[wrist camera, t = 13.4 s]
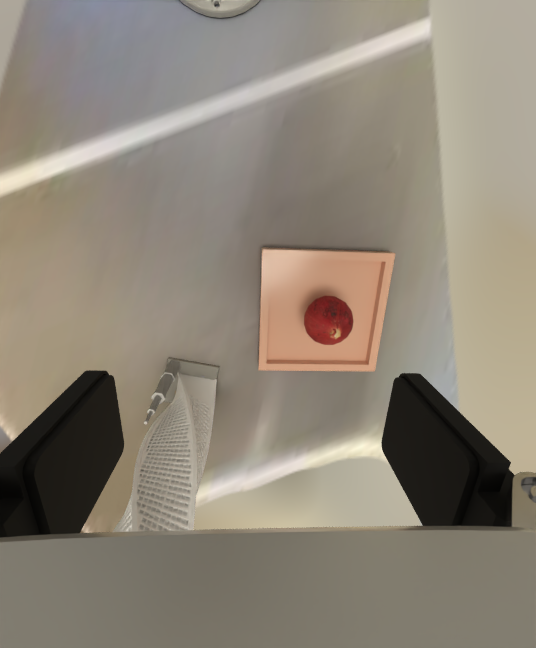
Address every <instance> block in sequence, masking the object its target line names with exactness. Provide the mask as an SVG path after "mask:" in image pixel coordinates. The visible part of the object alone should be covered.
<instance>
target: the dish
mask: <svg viewBox="0 0 536 648" xmlns="http://www.w3.org/2000/svg"><path fill="white" fill-rule="evenodd" d="M394 258H395V253H392V252H389V251H360V250H329V249H298V248H267V247H262V261H261V295H260V329H259V370H288V371H375V366H376V361H377V355H378V349H379V344H380V338H381V332H382V327H383V321H384V315H385V310H386V304H387V298H388V292H389V287H390V281H391V275H392V270H393V264H394ZM323 296H335V297H337V298H339V299H341V300H342V301H344V302H346V304H347V305H348V306H349V308H350V309H351V311H352V315H353V328H352V331H351V332H350V334H349V335H348V337H347V338H346V339H344V340H343V341H342V342H340V343H337V344H334V345H323V344H320V343H317V342H315V341H314V340H313V339H312V338H311V337H310V336H309V335H308V334H307V332H306V329H305V326H304V315H305V312H306V310H307V308H308V306H309V305H310V304H311V303H312V302H313V301H314V300H315V299H317V298H320V297H323Z"/></svg>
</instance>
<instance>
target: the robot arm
mask: <svg viewBox="0 0 536 648" xmlns="http://www.w3.org/2000/svg"><path fill="white" fill-rule="evenodd" d="M180 1H181V2H182V3H183V4H185V5H186V6H188V7H189V8H191V9H192V10H194V11H196V12H198V13H201V14H203V15H206V16H210V17H217V18H224V17H233V16H236V15H238V14H241V13H244V12H246V11H247V10H249V9H250V8H252V7H253V6H255V5H256V4H257V3H258V2H259V1H260V0H180ZM216 4H218V5H219V7H215V5H216ZM123 448H124V439H123V433H122V426H121V420H120V413H119V407H118V400H117V393H116V387H115V380H114V377H113V376H112V375H109V374H108V372H107V371H85V372H84V373H83V374H82V375H81V376H80V377H79V378H78V379H77V380H76V381H75V382H74V383H73V384H72V385H71V386H70V387H68V388H67V389H66V390H65V391H64V392H63V393H62V394H61V395H60V396H59V397H58V398H57V399H56V400H55V401H54V402H53V403H52V404H51V405H50V406H49V407H48V408H47V409H46V410H45V411H44V412H43V413H42V414H41V415H40V416H38V417H37V418H36V419H35V420H34V421H33V422H32V423H31V424H30V425H29V426H28V427H27V428H26V429H25V430H24V431H23V432H22V433H21V434H20V435H19V436H18V437H17V438H16V439H15V440H14V441H13V442H12V443H11V444H9V446H7V447H6V448H5V449H4V450H3V451H2V452H1V454H0V648H536V473H532V472H520V473H518V474H516V475H514V474H513V473H512V472H511V471H510V470H509V466H510V464H511V462H510V461H509V460H508V459H507V458H506V457H505V456H504V455H503V454H502V453H500V451H499V450H498V449H497V448H495V446H493V445H492V444H491V443H490V442H489V441H488V440H487V439H486V438H485V437H484V436H483V435H482V434H481V433H480V432H479V431H478V430H477V429H476V428H475V427H474V426H473V425H472V424H471V423H470V422H469V421H468V420H467V419H466V418H465V417H464V416H463V415H461V413H460V412H459V411H458V410H457V409H456V408H455V407H454V406H453V405H452V404H450V403H449V402H448V401H447V400H446V399H445V398H444V397H443V396H442V395H441V394H440V393H439V392H438V391H437V390H436V389H435V388H434V387H433V386H432V385H431V384H430V383H429V382H428V381H427V380H426V379H425V378H424V377H423V376H422V375H421V374H416V373H402V374H400V376H399V378H395V380H394V383H393V388H392V393H391V398H390V402H389V407H388V412H387V417H386V422H385V427H384V432H383V437H382V450H383V452H384V454H385V456H386V458H387V460H388V462H389V464H390V466H391V467H392V469H393V471H394V473H395V475H396V477H397V478H398V480H399V482H400V484H401V486H402V488H403V490H404V491H405V493H406V495H407V497H408V499H409V501H410V502H411V504H412V506H413V508H414V510H415V512H416V514H417V515H418V517H419V519H420V521H421V523H422V525H423V526H382V527H381V526H380V527H313V528H262V529H216V530H214V529H213V530H174V531H135V532H98V533H80V532H81V530H82V528H83V526H84V524H85V522H86V520H87V518H88V517H89V515H90V513H91V511H92V509H93V507H94V505H95V503H96V502H97V500H98V498H99V496H100V494H101V492H102V490H103V488H104V487H105V485H106V483H107V481H108V479H109V477H110V475H111V473H112V472H113V470H114V468H115V466H116V464H117V462H118V460H119V458H120V457H121V455H122V452H123Z"/></svg>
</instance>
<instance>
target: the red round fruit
mask: <svg viewBox="0 0 536 648" xmlns="http://www.w3.org/2000/svg"><path fill="white" fill-rule="evenodd" d="M304 326H305V329H306V332H307V334H308V335H309V336H310V337H311V338H312V339H313V340H314V341H315V342H317V343H320V344H323V345H334V344H337V343H340V342H342V341H343V340H344V339H346V338H347V337H348V335H349V334H350V332H351V331H352V328H353V315H352V311H351V309H350V308H349V306H348V305H347V304H346V302H344V301H342V300H341V299H339V298H337V297H335V296H323V297H320V298H317V299H315V300H314V301H313V302H312V303H311V304H310V305H309V306H308V308H307V310H306V312H305V315H304Z"/></svg>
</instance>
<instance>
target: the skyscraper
mask: <svg viewBox="0 0 536 648" xmlns="http://www.w3.org/2000/svg"><path fill="white" fill-rule="evenodd" d="M218 370H219V366H215V365H209V364H203V363H198V362H192V361H186V360H181V359H175V358H168V363H167V367H166V370H165V372H164V374H163V375H162V376H161V377H160V378H161V380H160V382H159V385H158V387H157V389H156V391H155V393H154V394H153V395H152V396H151V398H152V400H153V402H152V404H151V406H150V408H149V410H148V411H147V413H148V416H147V418H146V420H145V421H144V424H147V423H148V421H149V419H150V417H151V415H153V414H154V413H155V411H156V408H157V406H158V405H159V403H160V404H161V403H162V402H169V403H171V404H170V405H169V406H168V407H167V408H166V409H165V410H164V411H163V412H162V413H161V414H160V415H159V416H158V417H157V419H156V420H155V421H154V423H153V424H152V425H151V427H150V428H149V430H148V432H147V434H146V435H145V437H144V439H143V442H142V444H141V446H140V449H139V453H138V456H137V460H136V464H135V470H134V477H133V489H132V494H131V497H130V500H129V503H128V506H127V508H126V511H125V513H124V515H123V517H122V519H121V520H120V521H119V523H118V524H117V526H116V527H115V529H114V530H113V532H135V531H174V530H193V527H194V515H195V503H196V494H197V491H198V488H199V485H200V482H201V478H202V475H203V471H204V467H205V463H206V459H207V454H208V449H209V444H210V438H211V432H212V425H213V417H214V407H215V396H216V383H217V375H218Z"/></svg>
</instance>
